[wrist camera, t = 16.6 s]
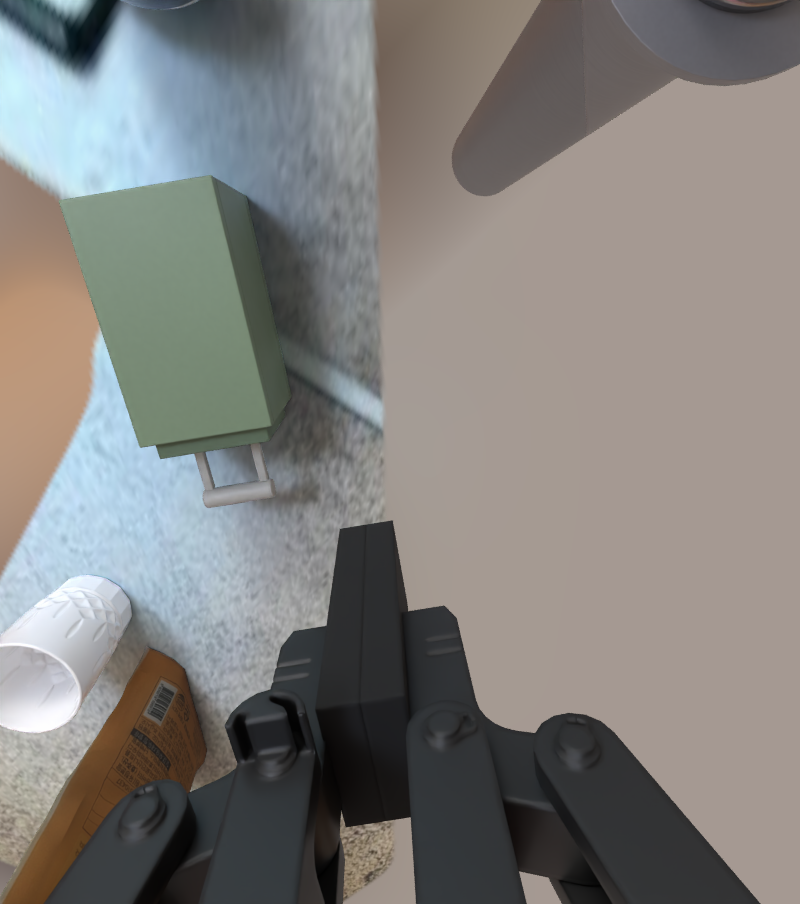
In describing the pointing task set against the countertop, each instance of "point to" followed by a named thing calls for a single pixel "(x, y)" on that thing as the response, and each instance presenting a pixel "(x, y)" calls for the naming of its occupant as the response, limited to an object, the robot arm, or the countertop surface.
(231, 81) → the countertop surface
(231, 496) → the drawer
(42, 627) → the white cup
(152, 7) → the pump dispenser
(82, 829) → the pancake mix bag
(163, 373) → the cabinet
